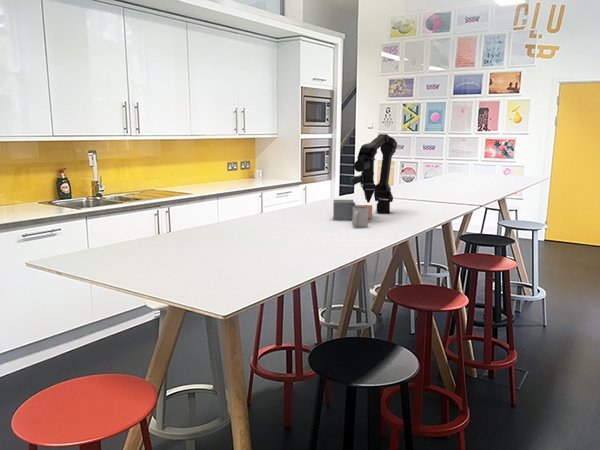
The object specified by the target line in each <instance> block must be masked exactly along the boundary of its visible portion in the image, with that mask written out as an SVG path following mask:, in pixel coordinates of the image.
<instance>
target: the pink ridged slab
mask: <svg viewBox="0 0 600 450" xmlns="http://www.w3.org/2000/svg"><path fill="white" fill-rule="evenodd" d="M356 206H364V207H368V220H369V219H373V205H372V204H356V205H354V207H356Z"/></svg>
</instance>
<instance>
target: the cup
mask: <svg viewBox="0 0 600 450" xmlns="http://www.w3.org/2000/svg"><path fill="white" fill-rule="evenodd" d="M368 220H369V219H368V207H364V206H356V207H353V220H351V221H352V224H351V225H352V227H353V226H354V228H359V227H361V228H362V227H363V228H367V227H368V223H369V221H368ZM363 228H362V229H363Z"/></svg>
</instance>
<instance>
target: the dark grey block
mask: <svg viewBox="0 0 600 450" xmlns="http://www.w3.org/2000/svg"><path fill="white" fill-rule="evenodd" d="M332 202H333V207H332V208H333V211H332V213H333V214H332V219H333V221H353V207H354V205H357V204H356V202H354V199H333V201H332Z"/></svg>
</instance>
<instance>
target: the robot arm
mask: <svg viewBox="0 0 600 450" xmlns="http://www.w3.org/2000/svg"><path fill="white" fill-rule="evenodd" d="M397 147H398V142H397V140H396V139H395V138H393V137H391V136H390V135H389V134H387V133H380V134H378V135H377V136H376V137H375V138H374V139H373V140H372V141H370V142H368V143H365V144H362V145H361V147H360V149H359V152H358V154H357V159H356V160H355V162H354V163H353V168H354V171H356V172H357V173H360V174H359V175H354V176H353V177H351V178H350V181H351V184H352V186H355V185H358V184H359V185H360V187H361V188H362V191H363V193H364V198H365V199H364V200H366V202H367V203H368V204H369V203H370V202H371V200H372V197H373V196H374V202H377V203H376V209H375V210H376V212H377V214H390V213H391V208H390V207H391V203H393V201H394V196H393V193H392V188H391V185H390V184H389V182H390V181H389V179H390V173H391V166H392V159H393V158H392V157H393V155H394V154H395V153H396V152H397V151H396V150H397ZM379 148H380V151H381V154H382V159H381V168H380V175H379V180H378V181H379V182H378V183H376V184H375V181H374V179H375V161H376V158H375V156H376V154H378V149H379Z"/></svg>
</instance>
